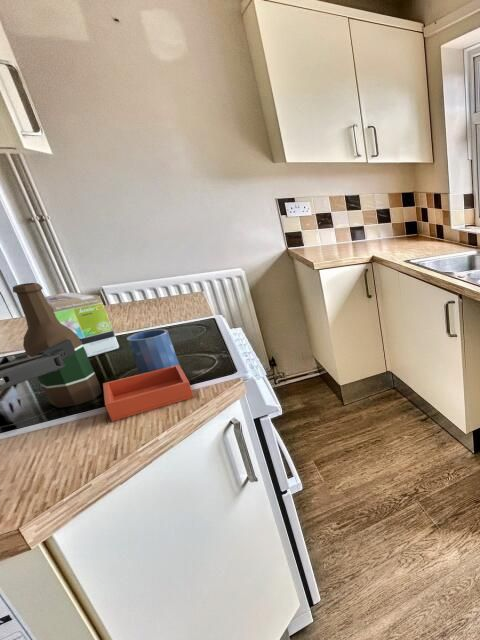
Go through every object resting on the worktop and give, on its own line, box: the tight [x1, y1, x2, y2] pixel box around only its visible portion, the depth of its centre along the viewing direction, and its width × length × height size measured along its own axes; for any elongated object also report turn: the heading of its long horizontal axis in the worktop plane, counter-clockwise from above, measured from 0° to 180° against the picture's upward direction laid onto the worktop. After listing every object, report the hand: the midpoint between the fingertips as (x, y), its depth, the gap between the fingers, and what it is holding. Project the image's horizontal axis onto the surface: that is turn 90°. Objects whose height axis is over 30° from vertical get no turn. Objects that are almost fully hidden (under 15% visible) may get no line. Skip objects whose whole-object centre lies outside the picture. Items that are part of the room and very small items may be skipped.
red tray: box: [102, 364, 195, 422], centre depth 85 cm, size 13×13×4 cm
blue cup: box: [126, 328, 180, 374], centre depth 94 cm, size 7×7×10 cm
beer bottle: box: [12, 282, 102, 409], centre depth 82 cm, size 8×8×24 cm
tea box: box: [45, 291, 120, 358], centre depth 109 cm, size 15×10×15 cm, turn 65°
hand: (25, 350), depth 76 cm, fingers open, 13 cm apart
